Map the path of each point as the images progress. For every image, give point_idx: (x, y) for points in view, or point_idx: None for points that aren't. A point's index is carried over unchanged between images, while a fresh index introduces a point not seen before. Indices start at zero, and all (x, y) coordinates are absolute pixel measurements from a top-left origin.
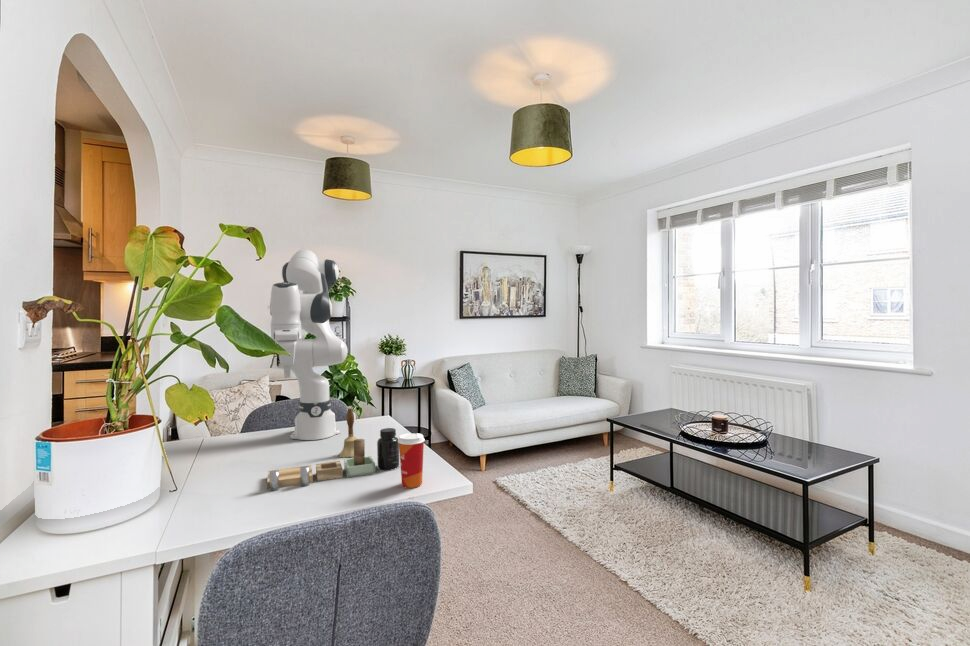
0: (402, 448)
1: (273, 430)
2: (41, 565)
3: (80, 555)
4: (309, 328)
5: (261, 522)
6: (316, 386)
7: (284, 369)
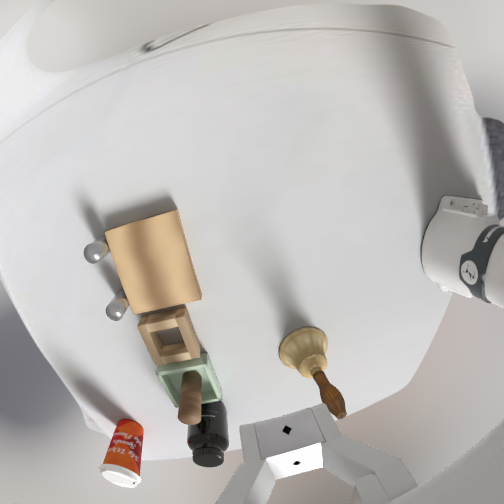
0: (105, 460)
1: (485, 156)
2: None
3: None
4: None
5: (9, 262)
6: None
7: (225, 495)
